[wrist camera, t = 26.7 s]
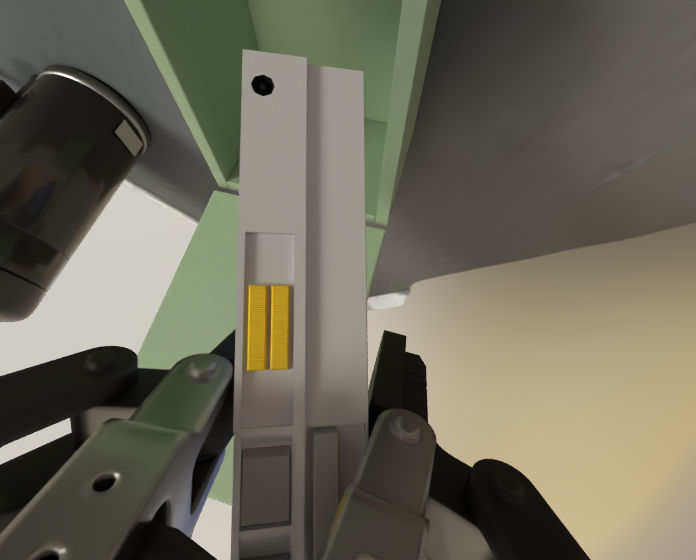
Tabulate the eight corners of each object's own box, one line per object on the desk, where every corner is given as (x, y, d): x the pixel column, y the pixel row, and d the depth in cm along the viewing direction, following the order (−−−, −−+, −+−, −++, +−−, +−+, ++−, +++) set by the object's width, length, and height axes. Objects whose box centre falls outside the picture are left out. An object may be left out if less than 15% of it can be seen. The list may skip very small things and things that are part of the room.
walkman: (324, 188, 16) (324, 475, 14) (259, 184, 15) (253, 481, 14) (371, 61, 8) (380, 658, 7) (240, 44, 7) (224, 690, 6)
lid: (89, 457, 18) (150, 444, 23) (304, 531, 17) (316, 500, 22) (213, 189, 23) (240, 228, 28) (385, 229, 22) (380, 263, 27)
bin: (177, -272, 13) (25, -190, 10) (493, -248, 12) (454, -143, 8) (266, 99, 27) (219, 187, 24) (414, 129, 26) (387, 226, 22)
